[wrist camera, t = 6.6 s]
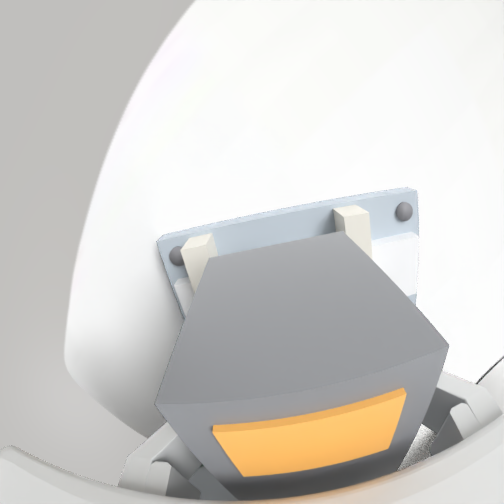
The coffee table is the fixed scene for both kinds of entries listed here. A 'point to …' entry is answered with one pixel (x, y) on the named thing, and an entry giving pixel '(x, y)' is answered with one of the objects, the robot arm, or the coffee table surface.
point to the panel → (305, 226)
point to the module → (300, 369)
